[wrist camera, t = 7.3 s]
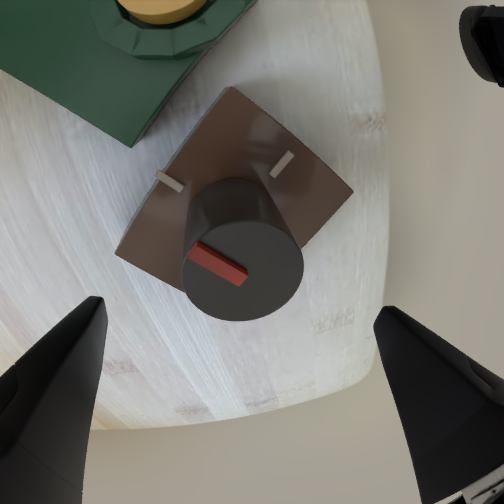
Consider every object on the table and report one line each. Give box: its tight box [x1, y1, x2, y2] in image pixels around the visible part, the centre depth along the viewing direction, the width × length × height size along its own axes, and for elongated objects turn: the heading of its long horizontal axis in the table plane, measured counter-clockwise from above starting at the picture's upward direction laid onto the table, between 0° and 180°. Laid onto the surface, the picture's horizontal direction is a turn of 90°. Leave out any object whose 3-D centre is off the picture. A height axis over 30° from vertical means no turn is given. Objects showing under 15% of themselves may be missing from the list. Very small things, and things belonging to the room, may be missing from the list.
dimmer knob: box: [181, 178, 304, 321], centre depth 12 cm, size 4×4×5 cm
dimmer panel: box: [115, 86, 354, 293], centre depth 15 cm, size 9×10×3 cm
